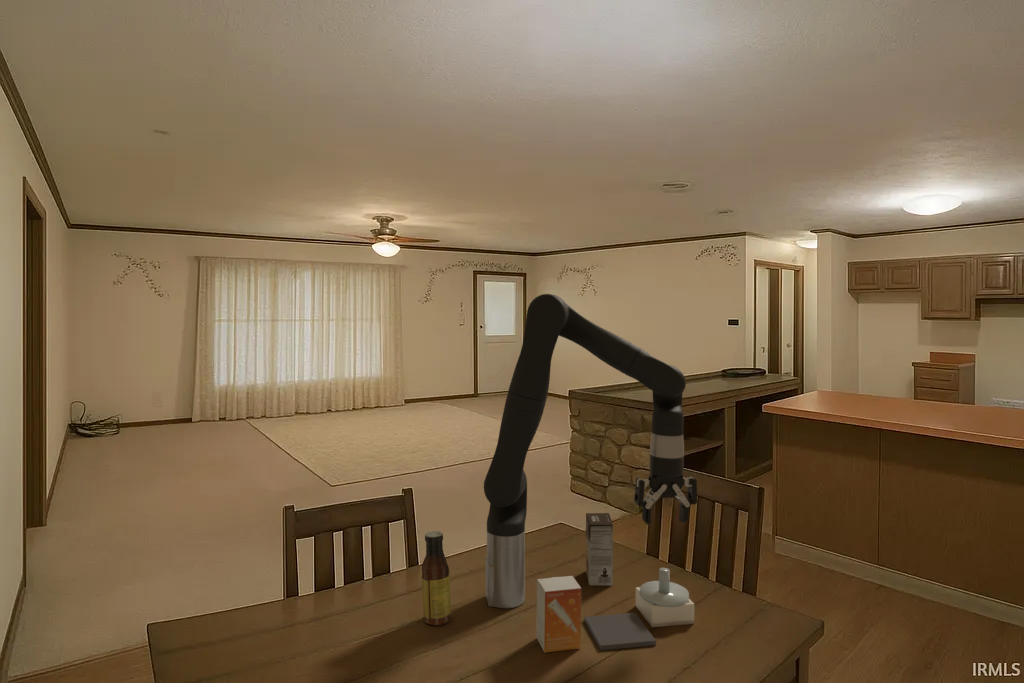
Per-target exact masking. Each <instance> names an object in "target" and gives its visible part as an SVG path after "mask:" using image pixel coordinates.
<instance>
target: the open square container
mask: <svg viewBox="0 0 1024 683" xmlns="http://www.w3.org/2000/svg"><path fill="white" fill-rule="evenodd" d="M640 587H641V586H637V587H635V608H637V610H638V611H639V612H640V614H641V615H642V616H643V618H644V619H645V620H646V621H647V623H648V624H649V625H650V627H651V628H659V627H660V628H662V627H671V626H680V625H681V626H682V625H683V626H684V625H694V624H695V603H694V602H693V601H692V600H691V599H690V598H689V601H688V602H687V603H686V604H684V605H681V606H677V607H663V606H658V605H654V604H651V603H649V602H647V601H645V600H644V599H643V598H642V597H641V596H640Z"/></svg>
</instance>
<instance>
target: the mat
mask: <svg viewBox="0 0 1024 683" xmlns="http://www.w3.org/2000/svg"><path fill="white" fill-rule="evenodd" d="M584 623H585V624H586V627H587V629H588V630H589V632H590V634H591V636H592V637H593V640H594V641H595V642H596V644H597V647H598V648H599V650H600V651H608V650H618V649H620V650H621V649H629V648H631V649H632V648H639V647H649V646H656V645H657V640H656V638H655V637H654V636H653V635H652V633H651V632H650V630H649V629H648V628H647V627H646V626H645V623H643V621H642V619H641V618H640V617H639V615H638V614H637V613H636V612H628V613H627V612H626V613H625V612H624V613H617V614H616V613H615V614H614V613H613V614H603V615H601V614H600V615H593V616H584Z"/></svg>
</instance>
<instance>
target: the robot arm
mask: <svg viewBox="0 0 1024 683" xmlns="http://www.w3.org/2000/svg"><path fill="white" fill-rule="evenodd" d="M525 318H526V319H525V326H524V332H523V338H522V346H521V350H520V353H519V356H518V359H517V362H516V364H515V367H514V370H513V374H512V377H511V381H510V384H509V386H508V390H507V395H506V398H505V402H504V408H503V411H502V412H503V413H502V416H501V422H500V427H499V432H498V433H499V434H498V440H497V444H496V447H495V451H494V454H493V457H492V459H491V462H490V465H489V467H488V470H487V473H486V475H485V478H484V481H483V493H484V496H485V498H486V500H487V501H488V503H489V510H488V515H487V519H486V557H485V597H486V602H487V605H488V607H495V608H498V609H513V608H516V607H519V606H521V605H523V603H525V600H526V586H525V585H526V580H525V579H526V566H525V565H526V557H525V556H526V546H525V545H526V544H525V542H526V540H525V537H526V534H525V532H526V520H527V510H528V509H527V508H528V480H527V479H528V478H527V475H526V472H525V470H524V467H525V462H526V457H527V454H528V451H529V449H530V446H531V443H532V442H533V440H534V437H535V436H536V433H537V430H538V428H539V425H540V423H541V421H542V417H543V415H544V414H543V413H544V410H545V407H546V402H547V398H548V393H549V390H550V379H551V366H552V359H553V358H552V357H553V354H554V351H555V348H556V345H557V342H558V338H559V336H560V337H562V338H564V339H566V340H569V341H571V342H573V343H574V344H576V345H578V346H580V347H582V348H583V349H585V350H586V351H587V352H589V353H590V354H592V355H593V356H595V357H596V358H598V359H599V360H600V361H602V362H603V363H605V364H607V365H608V366H610V367H612V368H613V369H615V370H617V371H618V372H620V373H622V374H624V375H625V376H628V377H630V378H632V379H634V380H635V381H638V382H639V383H640V384H642V385H643V386H644V387H646V388H648V389H649V390H651V391H652V406H653V407H652V416H651V437H650V443H649V444H650V445H649V477H648V478H646V479H645V478H643V479H642V478H641V477H636V479H635V488H634V497H633V498H634V499H633V502H634V503H635V505H637V506H639V507H641V509H642V510H641V511H642V512H641V513H642V514H641V519H642V521H643V522H644V524H646V525H647V526H649V525H651V524H652V508H651V507H652V506H653V505H654V503H656V502H657V501H658V500H659V499H666V498H669V499H670V498H671V499H674V498H675V497H676V498H677V500H678V501H679V503H680V504H679V507H678V508H679V509H678V510H679V515H678V516H679V517H678V520H679V522H680V523H682V524H686V523H687V521H689V508H690V506H691V505H697V504H698V486H697V485H698V484H697V479H696V478H694V477H692V476H691V475H689V476H687V477H684V473H685V472H684V468H685V467H684V466H685V439H684V422H685V421H684V420H685V419H684V411H683V393H684V391H685V389H686V386H687V385H686V384H687V383H686V378H685V376H684V374H683V372H682V371H681V370H680V369H679V368H678V367H676V366H674V365H671V364H668V363H666V362H664V361H662V360H660V359H658V358H656V357H654V356H652V355H651V354H650V353H648V351H646V350H645V349H643V348H641V347H639V346H637V345H636V344H634V343H632V342H630V341H629V340H627V339H625V338H623V337H621V336H619V335H617V334H616V333H613V332H611V331H609V330H608V329H605V328H603V327H601V326H600V325H597V324H596V323H594V322H593V321H591V320H589V319H588V318H586V317H584V316H583V315H582V314H580V313H579V312H577V311H576V310H575V309H573V308H572V307H571V306H570V305H569V304H568V303H566V301H564V299H563V298H562V297H560V296H558V295H556V294H550V293H542V294H540V295H538V296H535V298H533V300H532V301H531V302H530V303H529V305H528V308H527V311H526V317H525ZM684 485H685V486H686V488H687V491H686V492H687V495H685V494H684V493H683V491H682V488H683V487H684ZM648 486H649V487H650V488H649V490H648V492H646V496H645V490H646V489H647V487H648ZM644 496H645V497H644ZM686 496H687V497H686Z"/></svg>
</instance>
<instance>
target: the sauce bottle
mask: <svg viewBox="0 0 1024 683" xmlns="http://www.w3.org/2000/svg"><path fill="white" fill-rule="evenodd" d="M443 540H444V534H443V532H441V531H439V530H434V531H433V530H432V531H428V532H426V533H425V534H424V541H425V547H426V548H425V549H426V550H425V557H424V559H423V561H422V564H421V585H422V586H421V587H422V588H421V589H422V609H423V610H422V613H423V614H422V615H423V619H424V622H425V624H428V625H430V626H442V625H446V624H447V623H449V621H450V620H451V612H452V605H451V602H452V600H451V578H450V567H449V565H448V562H447V558H446V556H445V553H444V549H443Z"/></svg>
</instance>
